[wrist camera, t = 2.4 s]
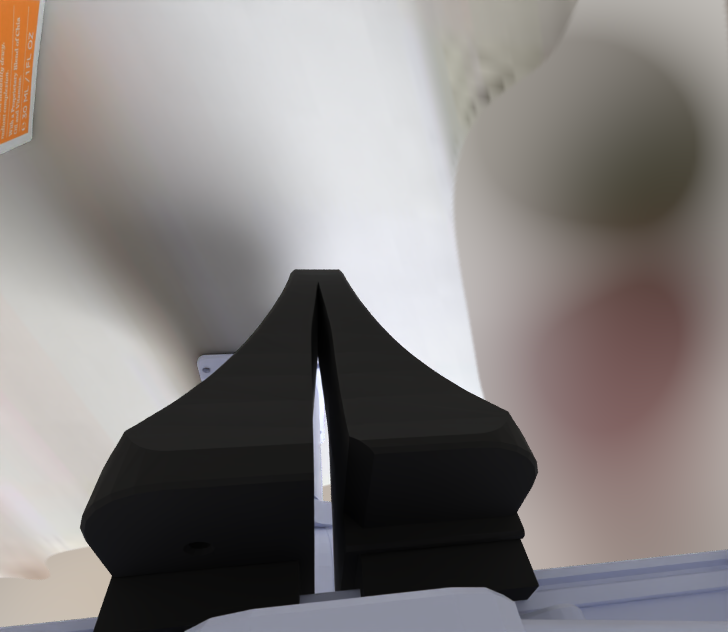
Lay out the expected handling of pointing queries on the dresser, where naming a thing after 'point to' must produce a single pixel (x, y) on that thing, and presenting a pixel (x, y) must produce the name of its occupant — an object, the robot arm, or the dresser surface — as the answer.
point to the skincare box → (18, 69)
